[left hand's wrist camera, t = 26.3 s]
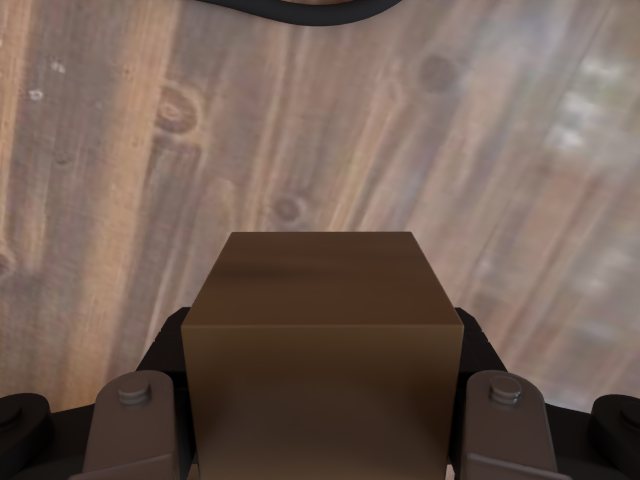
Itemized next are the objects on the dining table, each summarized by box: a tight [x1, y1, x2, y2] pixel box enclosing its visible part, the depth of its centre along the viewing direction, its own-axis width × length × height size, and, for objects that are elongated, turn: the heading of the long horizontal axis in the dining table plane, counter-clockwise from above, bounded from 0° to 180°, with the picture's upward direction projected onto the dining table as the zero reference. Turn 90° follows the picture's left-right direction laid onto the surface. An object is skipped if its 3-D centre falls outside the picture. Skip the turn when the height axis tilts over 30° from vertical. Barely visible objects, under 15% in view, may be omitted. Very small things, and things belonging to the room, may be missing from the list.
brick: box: [181, 232, 464, 480], centre depth 10 cm, size 5×5×5 cm
